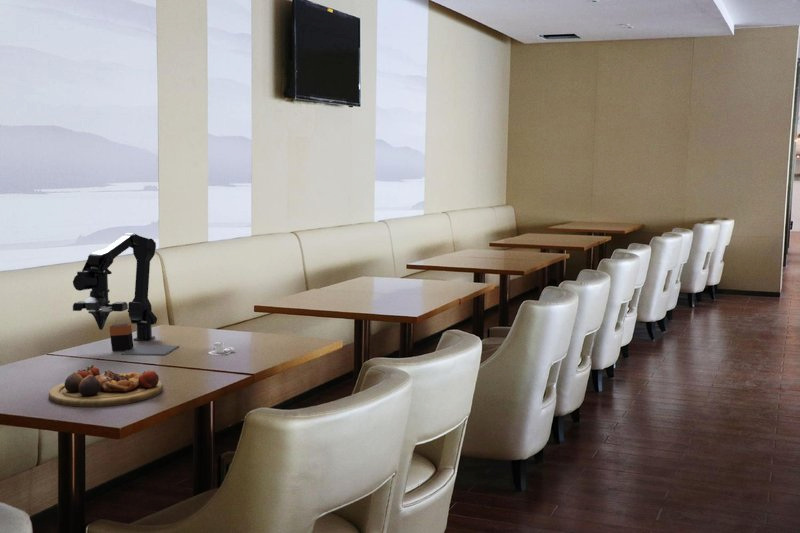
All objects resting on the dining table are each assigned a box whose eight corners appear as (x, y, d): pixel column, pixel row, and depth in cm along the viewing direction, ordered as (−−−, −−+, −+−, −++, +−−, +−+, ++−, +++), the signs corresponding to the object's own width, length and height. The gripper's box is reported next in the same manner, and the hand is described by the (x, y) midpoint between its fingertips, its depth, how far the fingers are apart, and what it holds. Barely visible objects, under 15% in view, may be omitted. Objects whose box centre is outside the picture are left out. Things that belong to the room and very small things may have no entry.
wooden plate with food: (182, 385, 276) (182, 359, 275) (124, 412, 245) (123, 382, 244) (92, 379, 284) (91, 353, 283) (25, 404, 254) (23, 375, 253)
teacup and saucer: (235, 352, 328) (235, 341, 328) (229, 356, 320) (229, 345, 320) (212, 351, 329) (212, 340, 328) (205, 355, 321) (205, 344, 321)
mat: (137, 346, 336) (137, 344, 336) (179, 346, 335) (179, 345, 335) (121, 354, 320) (121, 353, 320) (164, 355, 319) (164, 354, 319)
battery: (129, 350, 326) (126, 323, 325) (111, 351, 327) (108, 324, 326) (134, 347, 330) (131, 321, 329) (116, 348, 331) (113, 322, 330)
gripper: (65, 290, 319) (66, 333, 321) (115, 290, 318) (117, 334, 320) (78, 286, 330) (80, 327, 332) (127, 286, 329) (129, 328, 331)
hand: (101, 329), depth 328 cm, fingers closed
